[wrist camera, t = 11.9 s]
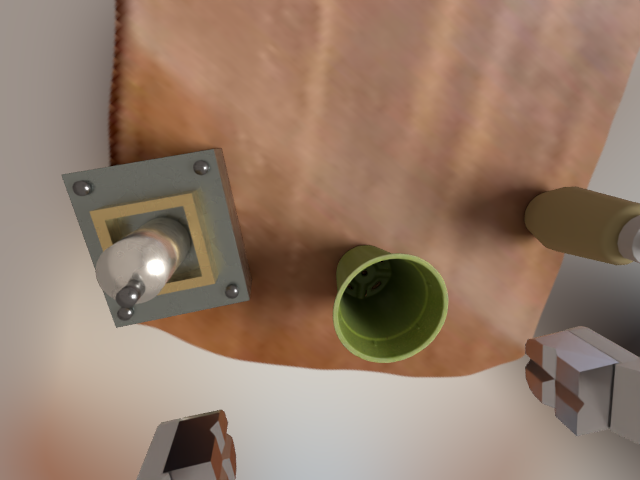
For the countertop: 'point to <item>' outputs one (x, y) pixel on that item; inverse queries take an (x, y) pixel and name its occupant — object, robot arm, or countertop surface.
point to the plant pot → (387, 304)
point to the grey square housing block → (177, 204)
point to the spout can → (142, 261)
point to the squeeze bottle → (586, 224)
